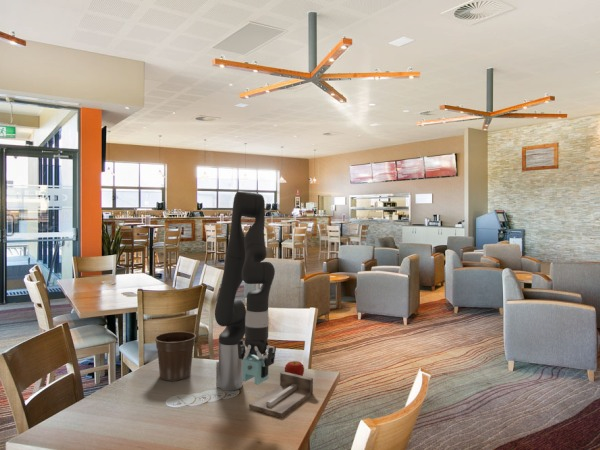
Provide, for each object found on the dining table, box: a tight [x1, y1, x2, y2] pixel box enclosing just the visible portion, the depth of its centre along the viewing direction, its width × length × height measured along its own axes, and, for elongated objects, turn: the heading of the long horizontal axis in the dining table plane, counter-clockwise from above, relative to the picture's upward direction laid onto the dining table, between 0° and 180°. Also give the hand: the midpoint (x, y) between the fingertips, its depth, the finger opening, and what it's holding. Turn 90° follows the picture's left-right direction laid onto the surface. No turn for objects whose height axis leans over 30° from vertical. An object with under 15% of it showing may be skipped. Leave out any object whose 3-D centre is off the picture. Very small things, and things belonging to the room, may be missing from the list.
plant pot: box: [154, 331, 197, 382], centre depth 180 cm, size 16×16×16 cm
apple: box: [284, 360, 305, 376], centre depth 177 cm, size 8×8×8 cm
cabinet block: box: [242, 355, 270, 386], centre depth 143 cm, size 6×7×7 cm
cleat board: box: [248, 371, 314, 419], centre depth 157 cm, size 13×22×6 cm, turn 151°
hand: (255, 374), depth 143 cm, fingers closed on cabinet block, 6 cm apart
